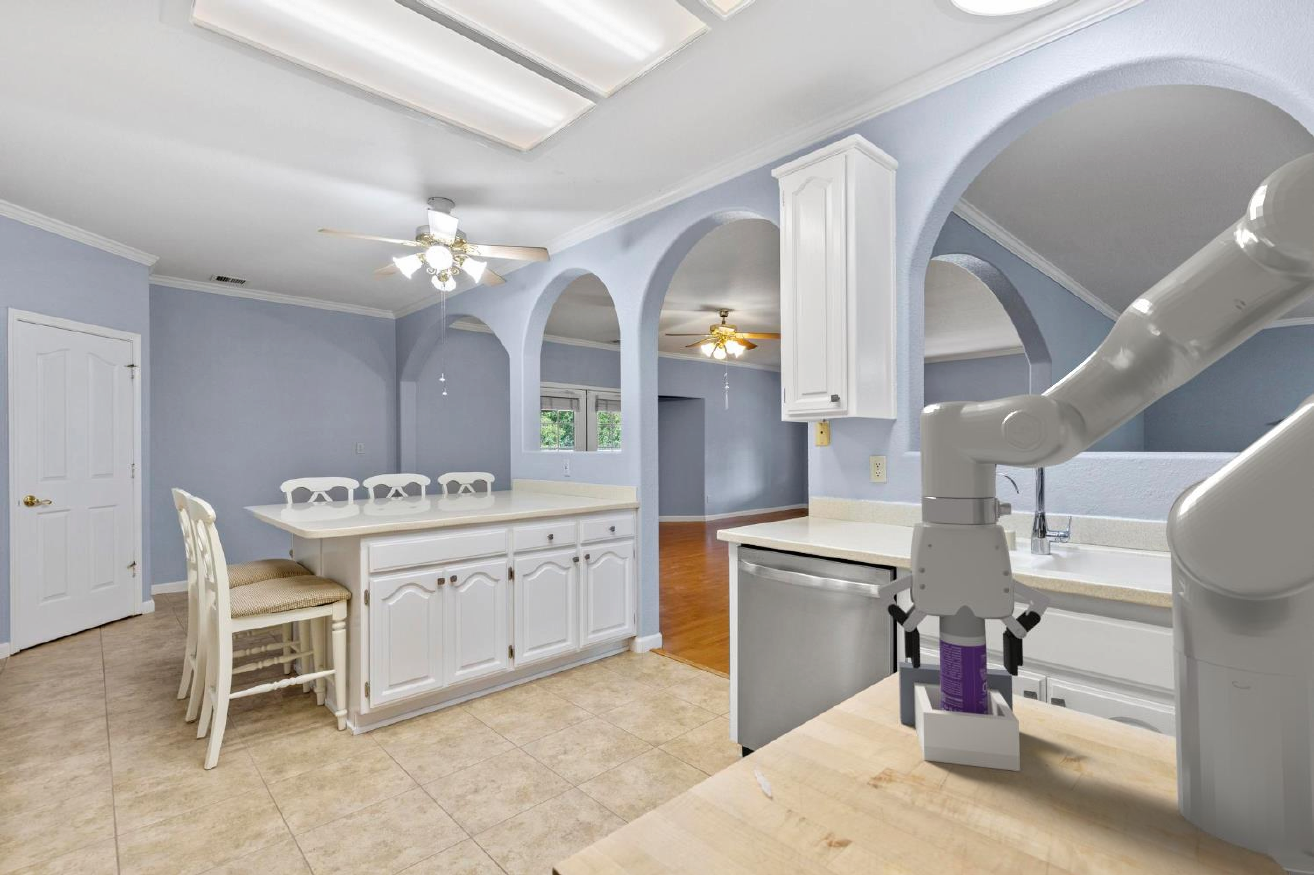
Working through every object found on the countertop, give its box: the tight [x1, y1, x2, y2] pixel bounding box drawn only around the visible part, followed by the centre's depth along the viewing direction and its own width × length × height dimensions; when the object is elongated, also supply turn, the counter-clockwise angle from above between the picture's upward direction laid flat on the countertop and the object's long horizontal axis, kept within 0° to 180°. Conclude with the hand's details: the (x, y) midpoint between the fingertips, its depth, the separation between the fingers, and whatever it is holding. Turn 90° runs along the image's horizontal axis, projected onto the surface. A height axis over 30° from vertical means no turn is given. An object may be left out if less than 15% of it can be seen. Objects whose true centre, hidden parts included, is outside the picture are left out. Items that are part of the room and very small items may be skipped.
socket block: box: [914, 683, 1021, 772], centre depth 70 cm, size 9×9×5 cm
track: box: [898, 661, 1014, 726], centre depth 67 cm, size 12×19×8 cm, turn 164°
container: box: [938, 605, 988, 715], centre depth 70 cm, size 5×5×15 cm
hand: (962, 668), depth 70 cm, fingers open, 9 cm apart
